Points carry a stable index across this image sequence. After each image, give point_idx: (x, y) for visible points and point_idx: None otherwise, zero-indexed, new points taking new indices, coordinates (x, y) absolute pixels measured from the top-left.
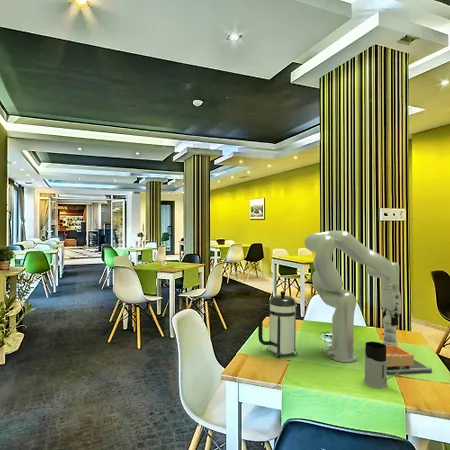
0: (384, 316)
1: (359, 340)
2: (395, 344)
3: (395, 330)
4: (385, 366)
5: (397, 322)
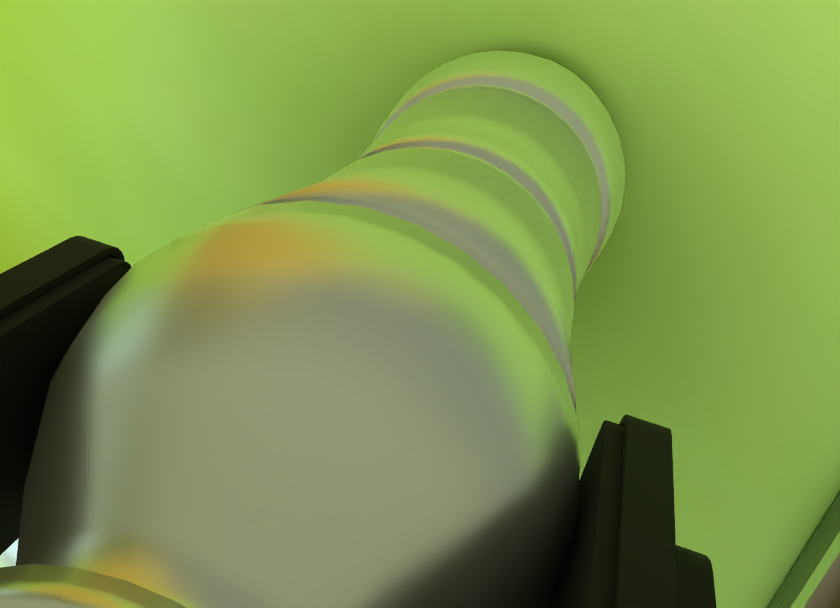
0: (6, 525)
1: None
2: (616, 203)
3: (568, 305)
4: None
5: (712, 593)
